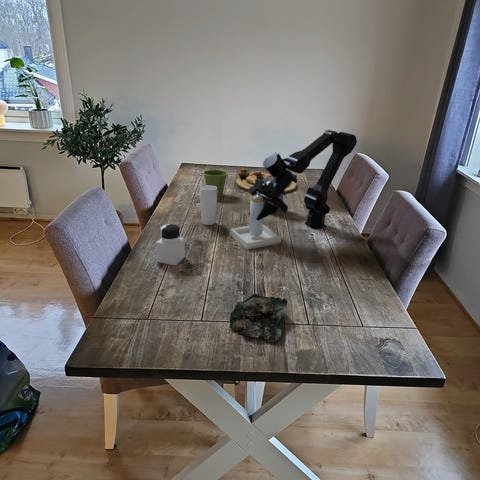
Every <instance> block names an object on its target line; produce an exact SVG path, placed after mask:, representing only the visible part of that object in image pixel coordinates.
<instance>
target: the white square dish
mask: <svg viewBox="0 0 480 480" xmlns="http://www.w3.org/2000/svg"><path fill="white" fill-rule="evenodd" d="M229 236H230V237H231V238H233V239H234V240H235V241H236V242H237V243H238V244H239V245H241V247H243V248H244V249H246V251H247V250H254V249H257V248H258V249H259V248H264V247H268V246H275V245H280V244H282V243H281V242H282V237H281V236H280V235H279V234H277V233H276V232H274V231H273V230H271V229H270V228H269V227H268V226H266V225H264V224H263V223H262V235H260V236H252V235H250V234H249V225H247V226H241V227H235V228H234V227H233V228H230V229H229Z"/></svg>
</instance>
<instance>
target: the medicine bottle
mask: <svg viewBox="0 0 480 480" xmlns="http://www.w3.org/2000/svg"><path fill="white" fill-rule="evenodd" d="M159 229H160V239H158V240H157V241H155V258H156V259H155V260H156V263H160V264H164V265H171V266H177V265H178V264H179V263H180V262H181V261H183V260H184V258H185V257H186V241H185V240H186V239H185V237H181V236H180V235H181V234H180V227H179V226H178V225H177V224H175V223H174V224H173V223H168V224H164V225H161V227H160V228H159Z"/></svg>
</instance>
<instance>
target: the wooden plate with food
mask: <svg viewBox="0 0 480 480" xmlns="http://www.w3.org/2000/svg"><path fill="white" fill-rule="evenodd" d="M264 178H273V176H272V175H271V174H270V173H269V172H268V173H266V172H261V171H259V170H255V171H253V172H251V173H250V171H249V170H248V169H246V168H245V167H244V168H241V169H240V170H239V171H238V177H237V178H236V179H235V185H236V186H237V187H238V188H239V189H241V190H242V191H245V192H248V189H249V188H250V187H252V186H254V184H255V181H256V179H259V180H261V181H263V179H264ZM274 178H275V177H274ZM296 189H297V183H295V182H291V183H290V184H289V186H288V187H287V188H286V189H285V195H286V194H290V193H292V192H295V191H296Z"/></svg>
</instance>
